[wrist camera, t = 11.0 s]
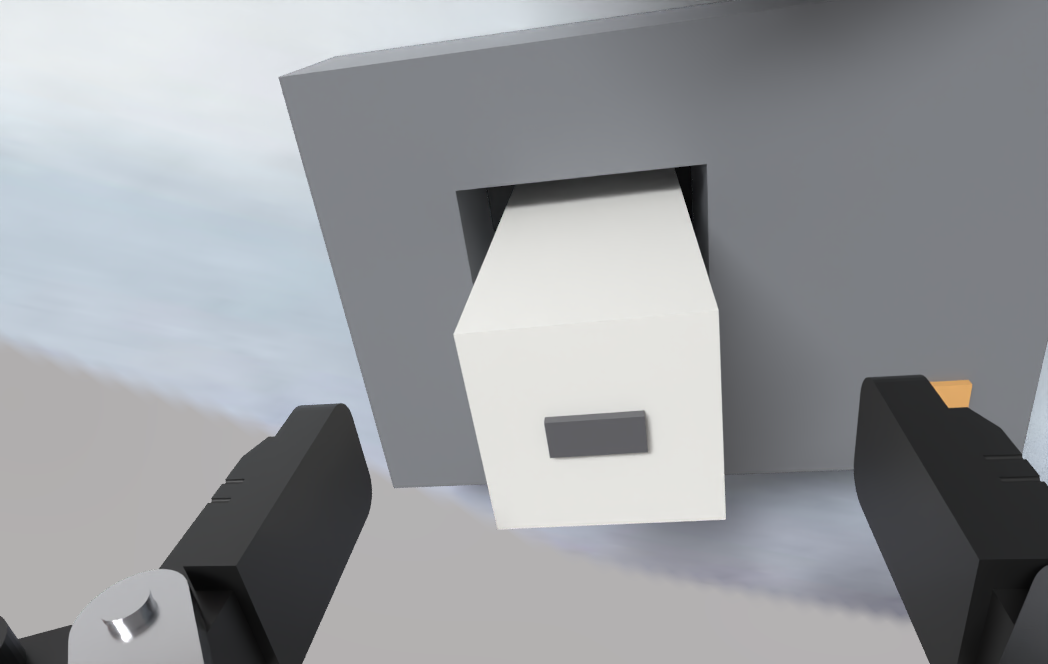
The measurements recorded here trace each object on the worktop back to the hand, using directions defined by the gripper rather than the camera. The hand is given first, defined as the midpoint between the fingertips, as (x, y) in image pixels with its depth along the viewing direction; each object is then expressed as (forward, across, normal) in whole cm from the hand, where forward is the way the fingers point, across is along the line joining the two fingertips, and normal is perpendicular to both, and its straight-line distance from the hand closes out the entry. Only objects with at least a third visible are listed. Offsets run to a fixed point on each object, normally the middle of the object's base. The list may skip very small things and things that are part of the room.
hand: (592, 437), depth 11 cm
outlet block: (+9, -2, 0) cm, 9 cm away
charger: (+9, 0, 0) cm, 9 cm away
